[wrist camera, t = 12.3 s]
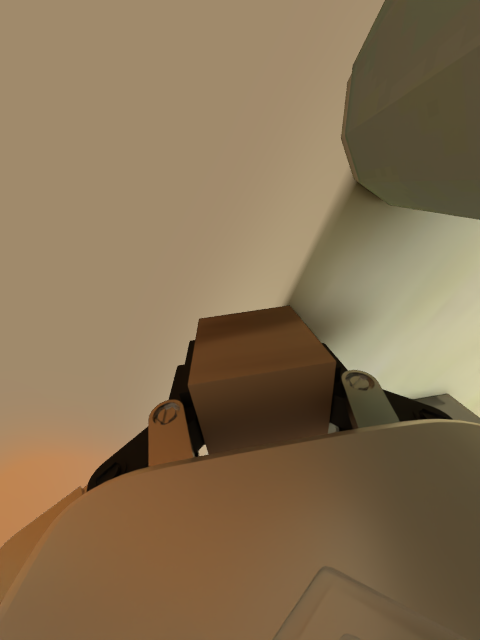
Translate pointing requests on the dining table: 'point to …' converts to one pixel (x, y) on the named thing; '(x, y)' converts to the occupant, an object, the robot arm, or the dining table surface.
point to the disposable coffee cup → (418, 107)
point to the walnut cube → (259, 379)
